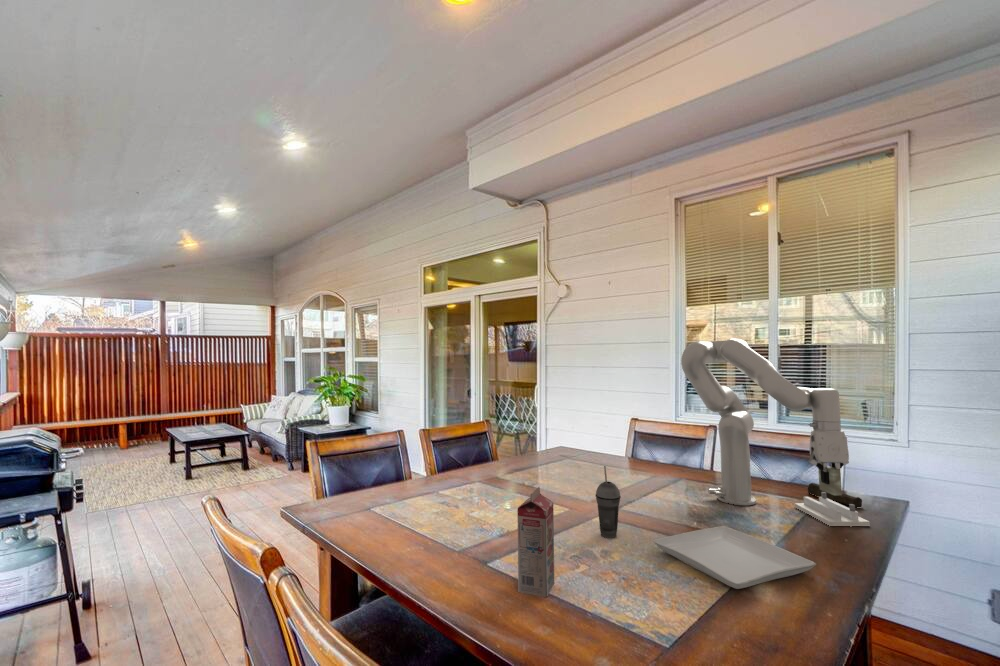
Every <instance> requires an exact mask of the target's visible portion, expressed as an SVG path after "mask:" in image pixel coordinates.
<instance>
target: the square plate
mask: <svg viewBox="0 0 1000 666" xmlns="http://www.w3.org/2000/svg"><path fill="white" fill-rule="evenodd" d="M652 542H653V543H654V544H655V545H656V546H657V547H658V548H659V549H660V550H661V551H663V552H665V553H666V554H668V555H671V556H672V557H674V558H675V559H678V560H680V561H681V562H682V563H685V564H686V565H688V566H691V567H692V568H694V569H696V570H698V571H700V572H702V573H704V574H705V575H707V576H709V577H711V578H713V579H715V580H717V581H718V582H720V583H723V584H725V585H727V586H728V587H730V588H733V589H736V590H740V589H744V588H748V587H752V586H755V585H758V584H762V583H766V582H770V581H774V580H778V579H782V578H786V577H791V576H795V575H798V574H802V573H805V572H807V571H810V570H811V569H813V568H814V567H815V566H817V563H816V562H814V561H812V560H810V559H808V558H805V557H803V556H800V555H798V554H797V553H793V552H791V551H789V550H786V549H784V548H783V547H780V546H777V545H775V544H772V543H770V542H767V541H764V540H763V539H760V538H758V537H755V536H752V535H749V534H747V533H744V532H741V531H739V530H737V529H736V530H735V529H734V528H732V527H728V526H725V525H721V526H716V527H710V528H703V529H697V530H693V531H688V532H683V533H682V532H681V533H678V534H673V535H669V536H668V535H667V536H665V537H661V538H655V539H653V540H652Z"/></svg>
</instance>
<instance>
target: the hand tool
mask: <svg viewBox="0 0 1000 666" xmlns="http://www.w3.org/2000/svg"><path fill="white" fill-rule="evenodd" d="M821 492H825V491H822V490H820V487H819V484H818V483H814V482H811V483H809V484H808V485H807V493H808V494H809V493H811V494H814V495H816V496H820V497H822V495H821ZM811 494H810V495H811ZM816 496H815V497H816ZM826 496H827V498H828V499H830V500H832V501H833V500H834V501H835V502H836V501H837V503H839V502H840V503H839V504H842V503H843V504H842V505H845V504H846V505H845V506H848V505H849V504H853V505H855V508H857V507H861V508H862V506H863V505H862V504H863V499H862V498H861V497H859V496H857V497H855V496H852V495H849V494H847V493H842V495H835V496H834V495H832V494H829V493H827V492H826Z"/></svg>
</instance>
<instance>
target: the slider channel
mask: <svg viewBox="0 0 1000 666" xmlns="http://www.w3.org/2000/svg"><path fill="white" fill-rule="evenodd" d="M821 495H822V497H818V500H817V499H814V498H812V497H810V496H803V502H800V503H799V502H794V508H795V509H796V508H797V509H796V510H798V509H799V511H800V510H801V511H800V512H802V511H803V512H802V513H804V512H805V513H804V514H806V513H807V514H809V515H811V516H812V517H811V516H810V517H811V518H813V517H814V519H815V518H816V519H815V520H817V519H818V520H817V521H819V520H820V521H819V522H821V521H822V522H823V523H822V522H821V523H822V524H824V523H825V524H824V525H826V524H827V526H828V525H829V526H828V527H830V526H850V528H851V527H852V526H870V525H871V524H870V523H871V521H870V520H867V519H865V518H862V517H861V516H859V512H858V511H857V510H856V509H855V505H853V504H849V506H847V505H844V504H842V503H839V502H836V501H833V500H830V499H828V498H827V496H826V492H821ZM807 514H806V515H807ZM809 515H808V516H809ZM852 528H853V527H852Z"/></svg>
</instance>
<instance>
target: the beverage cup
mask: <svg viewBox="0 0 1000 666" xmlns="http://www.w3.org/2000/svg"><path fill="white" fill-rule="evenodd" d="M603 470H604V471H603V472H604V481H603V482H601V483H600V484H598V486H597V489H596V490H595V491H596V492H595V500H596V503H597V511H598V512H597V513H598V522H599V532H600V536H601V538H603V537H604V539H608V540H609V539H611V540H613V539H616V538H617V534H618V525H619V524H618V523H619V509H620V501H621V498H622V497H621V492H620V489H619V488H618V486H617V485H616V484H615V483H613V482H611V481H608V479H607V478H608V477H607V476H608V475H607V466H606V465H604V466H603Z"/></svg>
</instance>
